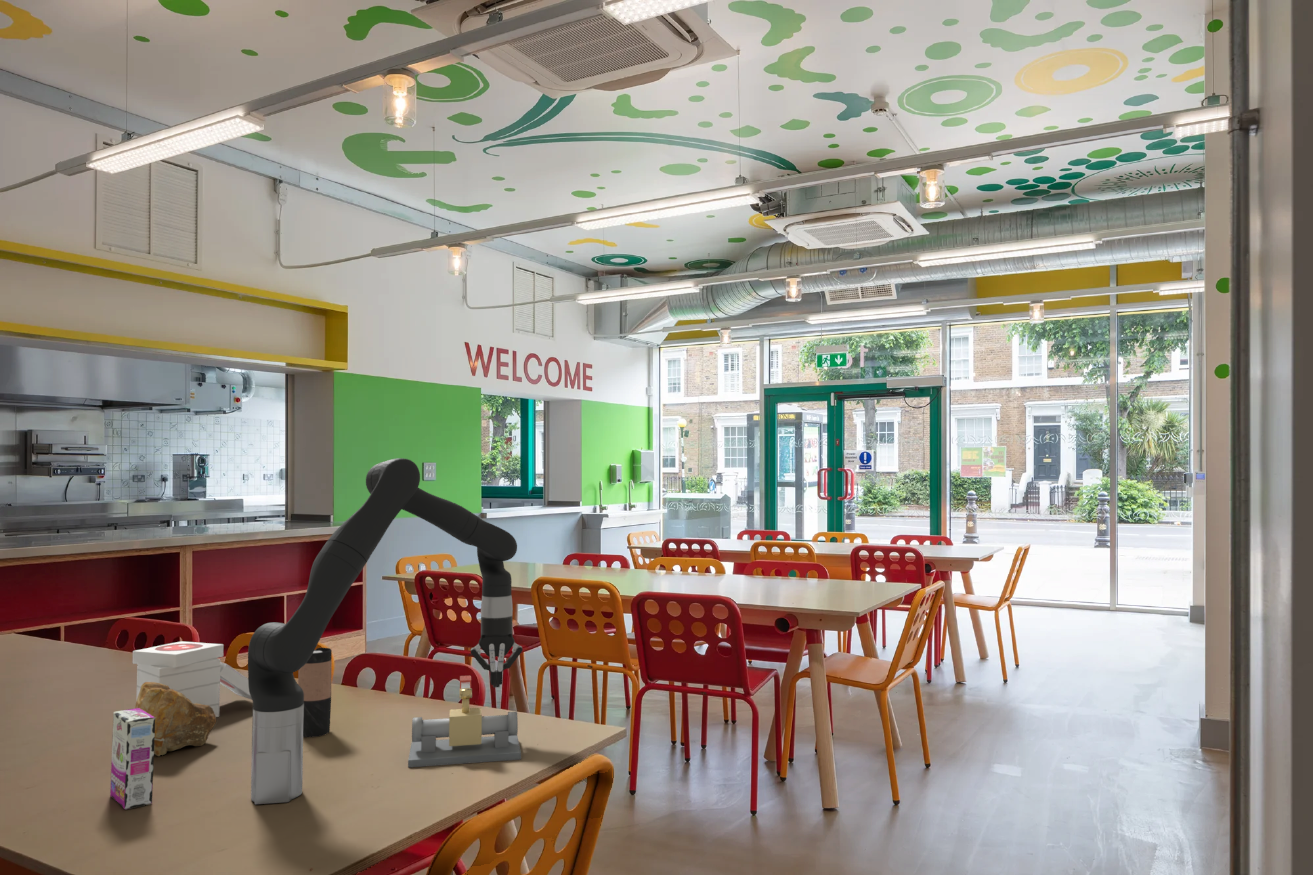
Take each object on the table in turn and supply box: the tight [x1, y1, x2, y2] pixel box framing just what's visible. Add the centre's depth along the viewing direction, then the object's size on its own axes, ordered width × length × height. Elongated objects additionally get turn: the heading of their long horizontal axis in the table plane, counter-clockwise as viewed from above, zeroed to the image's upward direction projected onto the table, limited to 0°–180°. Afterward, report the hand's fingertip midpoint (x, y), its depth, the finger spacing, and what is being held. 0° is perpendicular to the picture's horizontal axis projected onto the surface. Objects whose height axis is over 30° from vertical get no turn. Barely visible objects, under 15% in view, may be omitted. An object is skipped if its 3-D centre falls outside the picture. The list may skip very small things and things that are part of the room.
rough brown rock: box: [134, 682, 217, 757], centre depth 204 cm, size 23×17×15 cm
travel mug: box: [297, 647, 333, 738], centre depth 215 cm, size 8×8×20 cm
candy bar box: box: [109, 707, 155, 811], centre depth 170 cm, size 11×5×16 cm, turn 45°
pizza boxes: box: [132, 640, 252, 718], centre depth 234 cm, size 19×30×18 cm, turn 139°
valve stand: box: [407, 698, 522, 768], centre depth 198 cm, size 14×24×12 cm, turn 102°
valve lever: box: [458, 675, 473, 700], centre depth 204 cm, size 16×3×2 cm, turn 12°
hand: (496, 686), depth 211 cm, fingers closed
